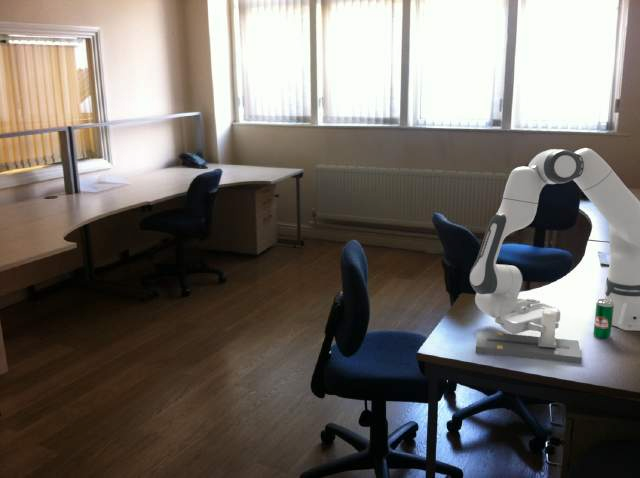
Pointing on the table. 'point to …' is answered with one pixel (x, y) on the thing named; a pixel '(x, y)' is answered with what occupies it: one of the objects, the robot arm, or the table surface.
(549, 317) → the fader knob
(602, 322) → the soda can
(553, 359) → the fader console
